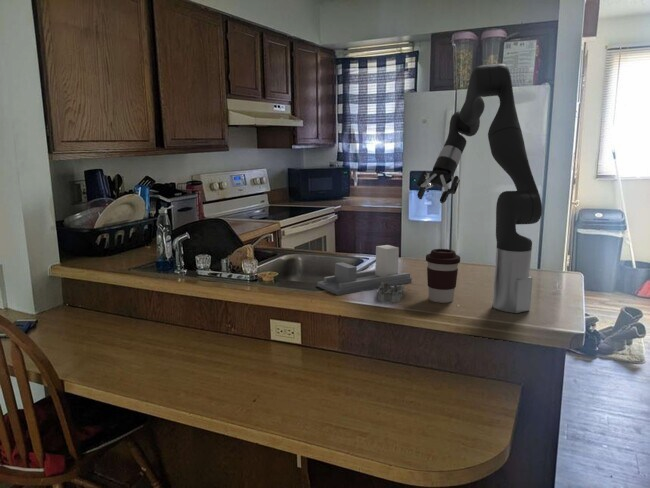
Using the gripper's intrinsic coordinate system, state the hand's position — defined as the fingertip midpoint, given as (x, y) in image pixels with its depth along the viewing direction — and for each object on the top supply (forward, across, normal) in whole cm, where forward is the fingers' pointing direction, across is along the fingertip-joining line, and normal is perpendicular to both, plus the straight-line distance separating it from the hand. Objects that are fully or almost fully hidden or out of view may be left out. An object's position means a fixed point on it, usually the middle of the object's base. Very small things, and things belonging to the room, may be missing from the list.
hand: (430, 200), depth 177 cm
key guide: (+37, -7, -4) cm, 38 cm away
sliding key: (+30, -5, +2) cm, 30 cm away
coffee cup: (+35, +20, -5) cm, 40 cm away
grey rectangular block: (+40, -10, -10) cm, 42 cm away
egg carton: (+40, +7, -10) cm, 42 cm away
